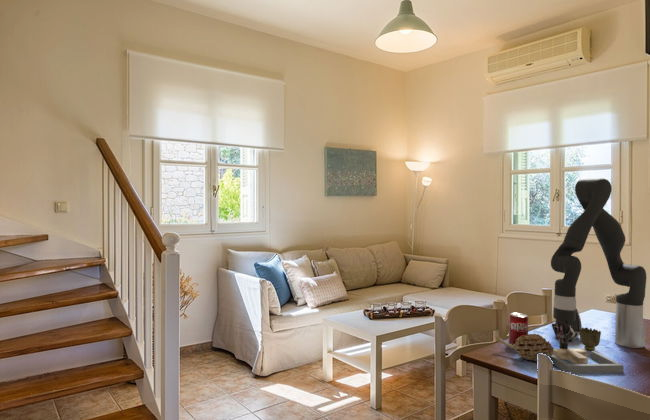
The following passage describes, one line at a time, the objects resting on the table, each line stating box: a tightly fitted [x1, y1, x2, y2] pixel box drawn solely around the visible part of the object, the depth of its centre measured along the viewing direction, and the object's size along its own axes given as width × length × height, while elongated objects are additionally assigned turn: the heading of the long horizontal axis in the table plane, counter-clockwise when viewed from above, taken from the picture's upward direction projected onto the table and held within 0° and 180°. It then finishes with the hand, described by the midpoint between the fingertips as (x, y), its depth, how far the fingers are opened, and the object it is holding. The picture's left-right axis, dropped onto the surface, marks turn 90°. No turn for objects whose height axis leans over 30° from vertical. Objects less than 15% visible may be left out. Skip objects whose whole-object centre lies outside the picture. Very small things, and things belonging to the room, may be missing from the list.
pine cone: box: [495, 333, 555, 362], centre depth 160 cm, size 22×10×10 cm, turn 45°
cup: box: [579, 326, 602, 352], centre depth 170 cm, size 8×7×8 cm
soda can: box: [508, 312, 529, 345], centre depth 177 cm, size 7×7×12 cm
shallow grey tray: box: [550, 350, 625, 374], centre depth 154 cm, size 20×14×2 cm
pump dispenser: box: [554, 307, 583, 339], centre depth 187 cm, size 10×10×15 cm
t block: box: [553, 348, 589, 364], centre depth 157 cm, size 12×10×3 cm
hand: (563, 351), depth 164 cm, fingers closed
